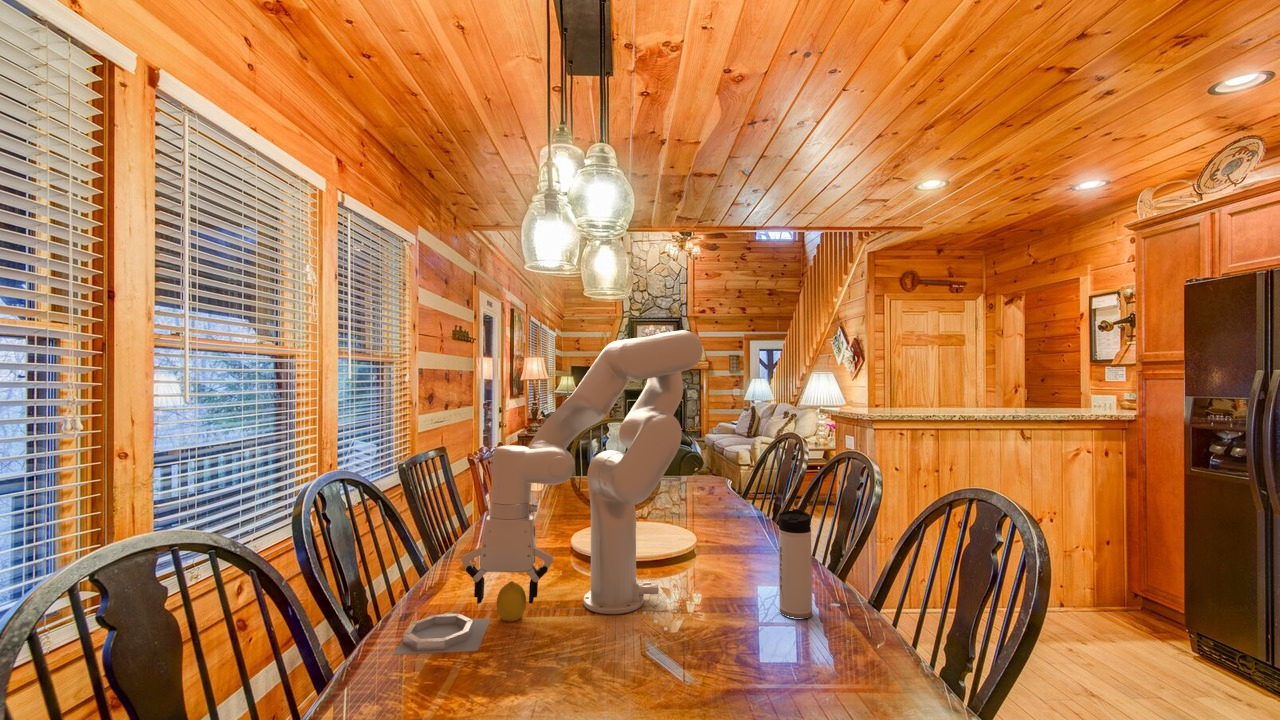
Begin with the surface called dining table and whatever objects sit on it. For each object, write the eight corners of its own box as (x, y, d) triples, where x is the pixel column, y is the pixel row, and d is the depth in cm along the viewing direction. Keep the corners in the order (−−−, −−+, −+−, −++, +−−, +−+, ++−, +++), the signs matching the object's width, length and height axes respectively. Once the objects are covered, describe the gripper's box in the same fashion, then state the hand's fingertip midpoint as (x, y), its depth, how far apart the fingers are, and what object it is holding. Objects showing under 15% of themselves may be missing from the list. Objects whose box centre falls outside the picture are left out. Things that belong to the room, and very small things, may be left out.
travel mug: (814, 609, 115) (813, 510, 115) (809, 622, 109) (808, 517, 109) (783, 604, 117) (782, 507, 118) (776, 616, 111) (775, 514, 112)
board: (490, 623, 109) (490, 618, 109) (477, 656, 96) (477, 650, 96) (415, 626, 107) (415, 621, 107) (392, 660, 94) (392, 654, 94)
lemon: (519, 631, 105) (519, 587, 105) (491, 628, 106) (491, 585, 107) (530, 618, 111) (530, 577, 111) (504, 616, 112) (504, 575, 112)
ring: (476, 620, 107) (476, 612, 107) (464, 648, 96) (464, 639, 96) (416, 623, 106) (416, 615, 106) (397, 651, 95) (397, 642, 95)
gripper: (556, 507, 114) (552, 593, 113) (468, 505, 112) (463, 593, 111) (554, 515, 106) (550, 608, 105) (459, 514, 104) (455, 608, 104)
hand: (505, 601), depth 108 cm, fingers open, 9 cm apart
